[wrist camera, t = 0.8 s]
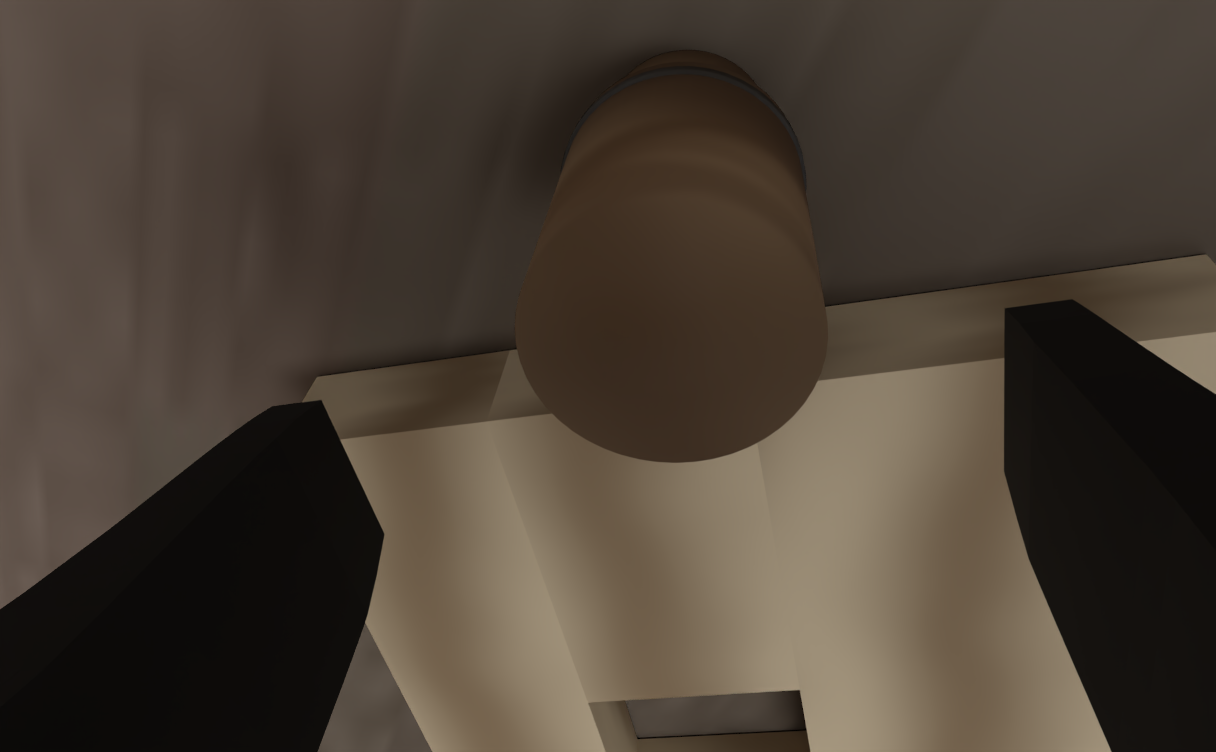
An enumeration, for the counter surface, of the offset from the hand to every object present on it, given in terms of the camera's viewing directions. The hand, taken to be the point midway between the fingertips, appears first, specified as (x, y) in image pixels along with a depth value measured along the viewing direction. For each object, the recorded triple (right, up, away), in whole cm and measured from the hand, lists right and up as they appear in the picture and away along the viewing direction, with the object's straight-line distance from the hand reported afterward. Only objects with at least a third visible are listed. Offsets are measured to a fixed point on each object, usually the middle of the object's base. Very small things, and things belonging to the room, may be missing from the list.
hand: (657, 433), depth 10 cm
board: (+4, -6, +14) cm, 16 cm away
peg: (+1, +5, +7) cm, 9 cm away
